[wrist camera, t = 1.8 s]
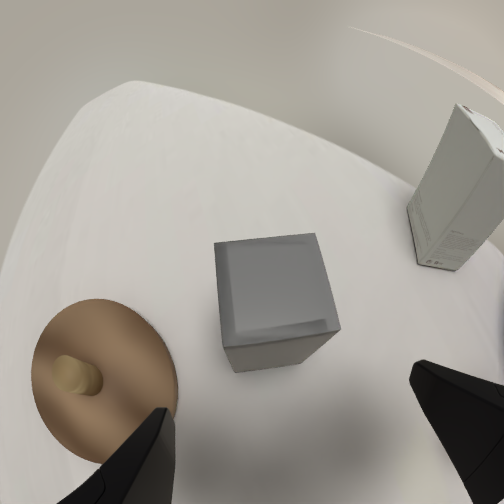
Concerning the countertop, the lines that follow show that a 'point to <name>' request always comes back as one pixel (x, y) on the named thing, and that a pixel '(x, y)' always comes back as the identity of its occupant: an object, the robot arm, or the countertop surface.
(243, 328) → the gray rectangular block
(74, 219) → the countertop surface
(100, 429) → the stand
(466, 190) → the skincare box
